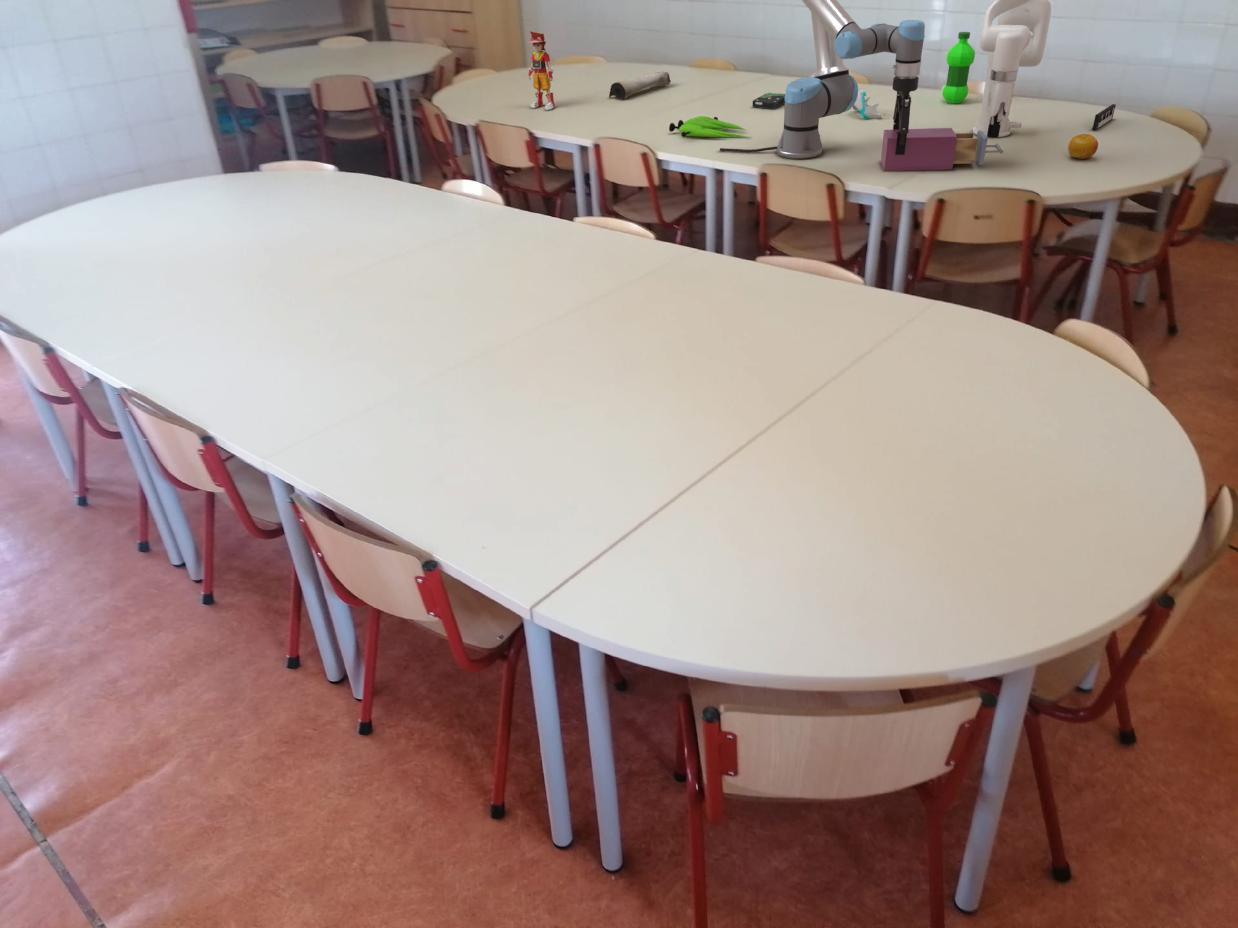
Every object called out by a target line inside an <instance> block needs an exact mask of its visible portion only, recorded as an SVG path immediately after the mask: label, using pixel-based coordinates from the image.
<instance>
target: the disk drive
mask: <svg viewBox="0 0 1238 928" xmlns="http://www.w3.org/2000/svg"><path fill="white" fill-rule="evenodd" d="M785 94H786V93H773V92H767V93H764V94H763V95H761V96H759V97H757V98H754V99H753V100H752V108H753V107H754V108H760V109H772V110H774V109H777V108H779V107H781V106H783V105H785Z"/></svg>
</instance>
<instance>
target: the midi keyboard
mask: <svg viewBox="0 0 1238 928" xmlns="http://www.w3.org/2000/svg"><path fill="white" fill-rule="evenodd" d="M1116 105H1117V104H1114V103H1112V104H1110V105H1109V106H1107V107H1106V108H1104V109H1102V110H1101V111H1100V112H1098V113H1097V114H1095V116H1094V120H1093V124H1092V128H1091V130H1093V131H1096V130H1098V129H1099V128H1100V127H1102V126H1103V125H1105V124H1106V123H1108V122H1109V121H1110V120H1113V118H1114V114H1115V111H1116V107H1117V106H1116Z"/></svg>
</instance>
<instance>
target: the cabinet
mask: <svg viewBox="0 0 1238 928" xmlns="http://www.w3.org/2000/svg"><path fill="white" fill-rule="evenodd" d="M896 132H899V129H896V130H893V129H883V136H882V145H881V146H882V147H881V154H880V155H881V156H880V164H881V166H882V169H883V172H901V171H902V172H903V171H905V172H907V171H945V170H947V171H948V170H953V167H954V164H953V161H954V155H955V148H956V141H957V136H956V134H955V133H956V132H955V131H954V130H953V128H952V127H935V128H933V127H932V128H909V132H908V133H907V137H906V145H905V153H904V155H895V152H896V144H897V135H898V134H896Z"/></svg>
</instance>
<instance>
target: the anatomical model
mask: <svg viewBox="0 0 1238 928" xmlns="http://www.w3.org/2000/svg"><path fill="white" fill-rule="evenodd" d="M866 96H867V93H866V91H864V90H863V89H862V88H858V96H857V99H856V102H855V103H854V105H853V107H852V109H853V110H854V111H858V112H859V113H860V116H861V118H862V119H864V120H868V119H870V118H881V117H882V116H884V115H883V113H882V112H877V111H876V109H877V108H878V106H880V103H878V102H876V103H873V104H871V105H869V104H868V102H869V100H870V98H871V97H870V96H868V97H866Z"/></svg>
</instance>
